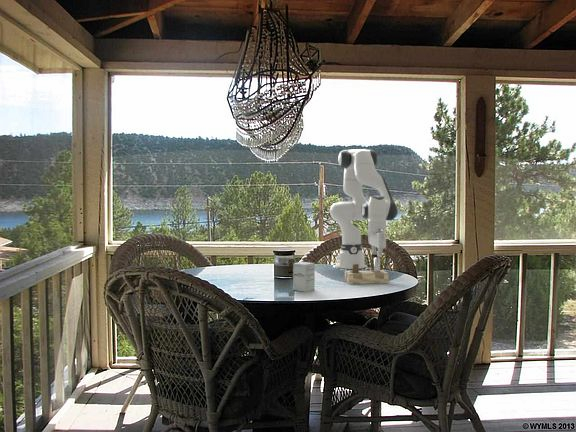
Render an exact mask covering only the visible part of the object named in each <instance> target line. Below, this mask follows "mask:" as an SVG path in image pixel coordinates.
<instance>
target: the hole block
mask: <svg viewBox="0 0 576 432" xmlns="http://www.w3.org/2000/svg"><path fill="white" fill-rule="evenodd" d="M344 282H345V283H347V284H349V285H361V284H364V285H365V284H389V272H388V271H385V270H383V269H382V270H380V272H379V273H374V271H371V270H359V273H353V270H345V271H344Z"/></svg>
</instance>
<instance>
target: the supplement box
mask: <svg viewBox="0 0 576 432" xmlns="http://www.w3.org/2000/svg"><path fill="white" fill-rule="evenodd" d="M315 264H316V263H314V262H310V261H309V262H307V261H300V262H299V261H298V262H293V264H292V265H293V266H292V267H293V269H292V272H293V273H292V278H293V279H292V280H293V281H292V283H293V284H292V285H293V286H292V290H293V291H298V292H304V293H307V292H312V291H315V287H316V286H315V285H316V284H315V279H316V277H315V275H316V274H315V273H316V272H315V269H316V267H315V266H316V265H315Z"/></svg>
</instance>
